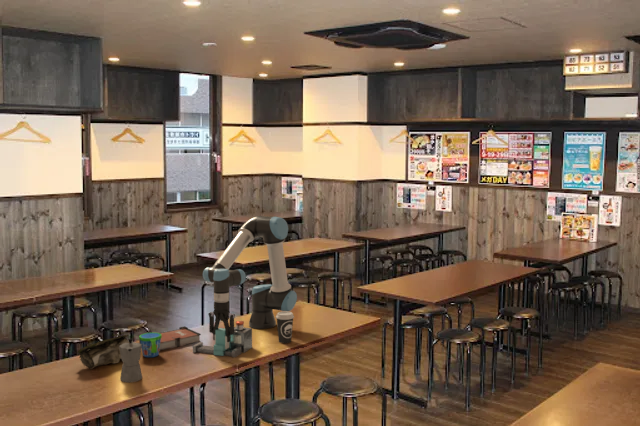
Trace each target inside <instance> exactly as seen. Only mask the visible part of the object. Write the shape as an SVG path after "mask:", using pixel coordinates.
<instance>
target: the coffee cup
mask: <svg viewBox="0 0 640 426" xmlns="http://www.w3.org/2000/svg"><path fill="white" fill-rule="evenodd" d="M275 319H276V325H277V336H278V343H281V344H289V343H291V342H292V338H293V335H292V334H293V325H294V324H293V323H294V319H295V316H294V313H293V312H292V311H279V312H277V313H276V316H275Z"/></svg>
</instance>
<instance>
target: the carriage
mask: <svg viewBox="0 0 640 426" xmlns="http://www.w3.org/2000/svg"><path fill="white" fill-rule="evenodd" d="M215 335H216V344H215V343H214V344H213V347H214V354H213V356H219V357H220V356H225V355H224V351H225V350H227V349H225V336H226V331H225V327H224V328H222V327H218V329H217V330H215ZM228 349H231V342H229V348H228Z"/></svg>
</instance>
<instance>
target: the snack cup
mask: <svg viewBox="0 0 640 426" xmlns="http://www.w3.org/2000/svg"><path fill="white" fill-rule="evenodd" d="M160 333H161V332H145V333H142V334H139V335H140V336H138V341H139V340H140V343H141V345H142V347H141V353H142V356H143V357H144V358H156V357H158V356H159V354H160V350H159V349H160V340H161V338H162V335H161V334H160Z"/></svg>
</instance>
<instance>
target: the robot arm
mask: <svg viewBox="0 0 640 426" xmlns="http://www.w3.org/2000/svg"><path fill="white" fill-rule="evenodd" d="M288 225H289V224H288V222H287V221H286V219H284V218H283V217H279V216H275V215H274V216H270V215H269V216H266V215H256V216H254V217H251V218H250V219H248V220H247V221H245V222H244V223H242V225H241V226H240V227H239V229H238V231H237V235H236V236H235V237H234V238H233V239H232V241H231V242H230V243H229V244H228V246H227V247H226V249H224V251H223V252H222V253H221V255H220V256H219V257H218V258H217V260H216V261H215V263H214V264H213V265H212V266H210V267H209V266H207V267H206V268H204V269H203V271H202V278H203V280H204V281H205V282H208V283H213V301H214V302H213V311H211V312H209V313H208V317H209V320H208V321H209V322H208V323H209V328H208V329H209V333H211V334H212V339H213V341H214V345H215V344H216V335H215V330H217V329H218V328H220V327H219V325H220V321H222V322H223V326H224V329H225V331H226V336H225V349H228V348H229V342H230V341H231V335H232V334H234V327H235V316H236V314H235V313H231V311H230V288H231V287H235V286H240V285H242V284H243V283H245V281H246V277H247V275H246V272H245V271H244V270H243V269H240V268H239V269H238V268H237V269H230V268H231V267H232V266H233V264H234V263H235V261H237V259H238V258H239V256H240V255H241V254H242V252H243V251H244V250H245V248H246V247H247V246H248V245H249V243H252V242H253V241H254V240H255V239H257V238H262V240H263V244H264V245H266V248H267V256H268V262H269V269H270V276H271V277H270V278H271V283H272V284H271V283H269V284H260V285H256V286H255V285H254V286H253V287H252V289H251V314H250V315H251V316H250V317H249V320H248V326H249V328H252V329H259V330H261V329H262V330H264V329H265V330H266V329H272V328H274V327H276V325H277V319H276V316H275V315H274V311H273V310H275V311H279V312H283V311H287V312H292V310H293V309H294V308H295V306H296V304H297V300H298V295H297V292H296V291H295V290H292V285H291V284H290V283H289V281H288V274H287V273H288V272H287V267H286V266H287V265H286V259H285V258H286V257H285V249H284V244H283V243H285V241H286V238H287V237H288V232H289V226H288Z"/></svg>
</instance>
